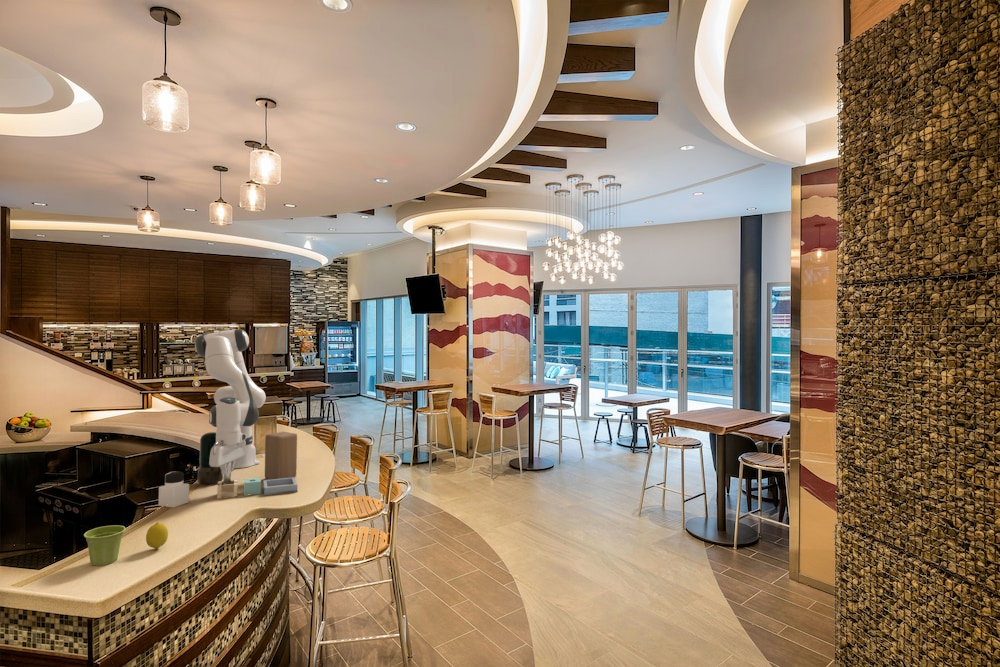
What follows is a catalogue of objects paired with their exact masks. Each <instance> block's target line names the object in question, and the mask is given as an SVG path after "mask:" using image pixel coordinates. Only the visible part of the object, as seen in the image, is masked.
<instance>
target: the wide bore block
mask: <svg viewBox="0 0 1000 667" xmlns="http://www.w3.org/2000/svg"><path fill="white" fill-rule="evenodd" d="M223 482H224V480H222V481H219V482H218V484H217V496H216V497H217V498H221V499H225V498H224V497H230V498H233V497H232V496H237V497H238V479H231V483H229V484H223ZM217 498H216V499H217Z"/></svg>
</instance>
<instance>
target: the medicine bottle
mask: <svg viewBox="0 0 1000 667" xmlns="http://www.w3.org/2000/svg"><path fill="white" fill-rule="evenodd" d="M184 475H185V473H184V472H182V471H178V470H177V471H169V472H168V473H166V474H165V475H164V485H162V486H159V487H158V506H159V507H164V506H166V505H167V504H168V505H167V506H166V508H176V507H179V506H181V505H184V504H185V505H186V504H187V503H189V502H190V483H184V480H185V479H184V478H185V476H184Z"/></svg>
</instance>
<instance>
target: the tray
mask: <svg viewBox="0 0 1000 667" xmlns="http://www.w3.org/2000/svg"><path fill="white" fill-rule="evenodd" d="M262 482H263V483H262V488H263V493H264V494H263V495H264V496H273V495H282V494H290V493H291V494H292V493H298V482H297V480H296V476H295V477H292V478H282V479H272V480H270V479H264V480H262Z"/></svg>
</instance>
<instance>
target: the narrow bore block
mask: <svg viewBox="0 0 1000 667" xmlns="http://www.w3.org/2000/svg"><path fill="white" fill-rule="evenodd" d="M243 480H244V482H243V483H244V484H243V486H244V488H243V494H244V495H245V496H249V495H248V494H254V495H261V494H262V492H261V490H262V480H261V477H254V478H246V479H243ZM244 495H243V496H244Z"/></svg>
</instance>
